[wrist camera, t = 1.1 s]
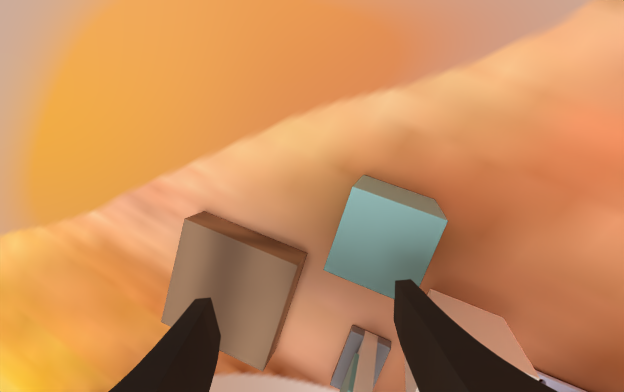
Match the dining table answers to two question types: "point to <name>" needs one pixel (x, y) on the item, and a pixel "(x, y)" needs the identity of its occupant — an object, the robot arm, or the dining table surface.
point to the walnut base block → (235, 284)
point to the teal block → (385, 236)
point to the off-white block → (479, 334)
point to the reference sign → (360, 361)
